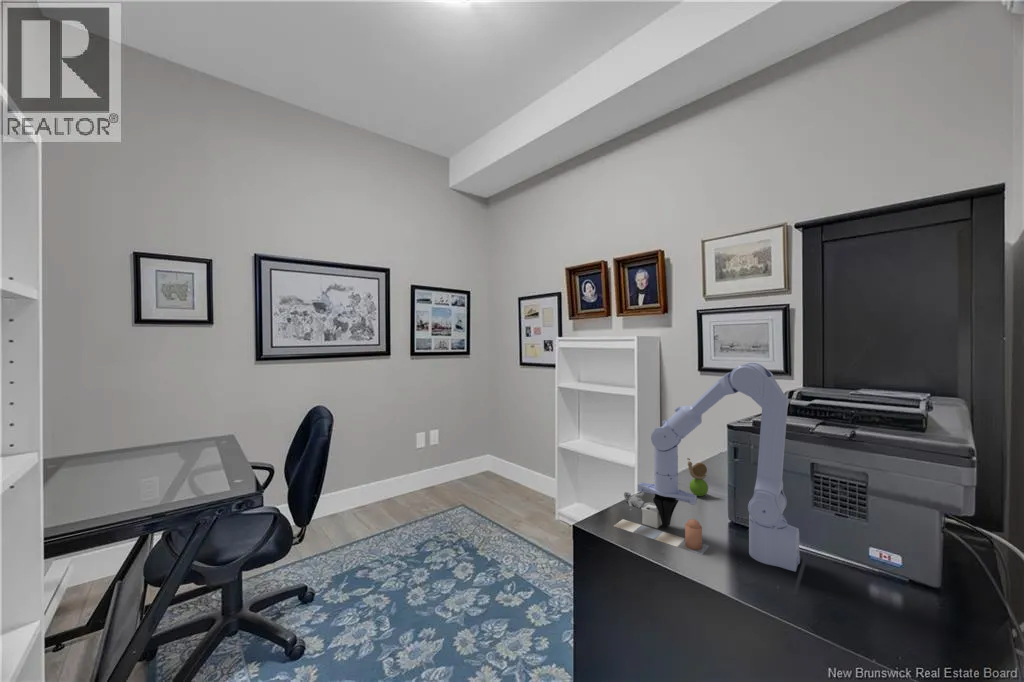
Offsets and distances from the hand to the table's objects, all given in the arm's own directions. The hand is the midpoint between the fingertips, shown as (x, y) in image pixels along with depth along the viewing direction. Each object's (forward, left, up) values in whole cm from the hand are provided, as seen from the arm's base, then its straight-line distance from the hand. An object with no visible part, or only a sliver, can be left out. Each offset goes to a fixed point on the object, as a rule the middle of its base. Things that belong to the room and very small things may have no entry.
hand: (666, 525), depth 106 cm
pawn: (-9, +6, -1) cm, 10 cm away
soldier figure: (+10, -8, -2) cm, 13 cm away
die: (+4, 0, -1) cm, 4 cm away
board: (0, +3, -2) cm, 3 cm away
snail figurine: (+1, -30, -2) cm, 31 cm away
